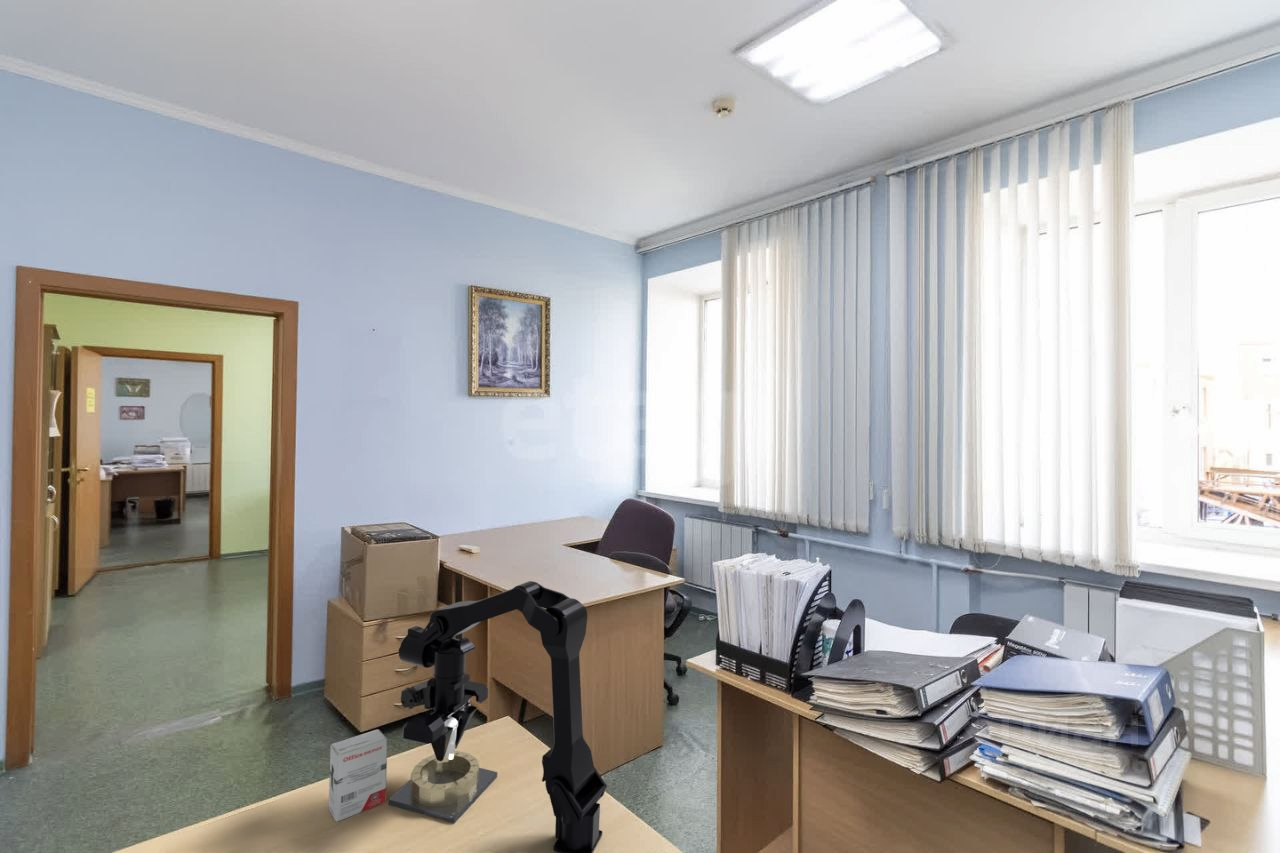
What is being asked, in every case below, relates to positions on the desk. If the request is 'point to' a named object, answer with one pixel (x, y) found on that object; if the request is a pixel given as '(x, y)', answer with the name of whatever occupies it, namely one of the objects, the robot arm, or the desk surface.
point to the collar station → (444, 788)
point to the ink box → (357, 774)
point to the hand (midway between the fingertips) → (446, 754)
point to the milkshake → (448, 749)
